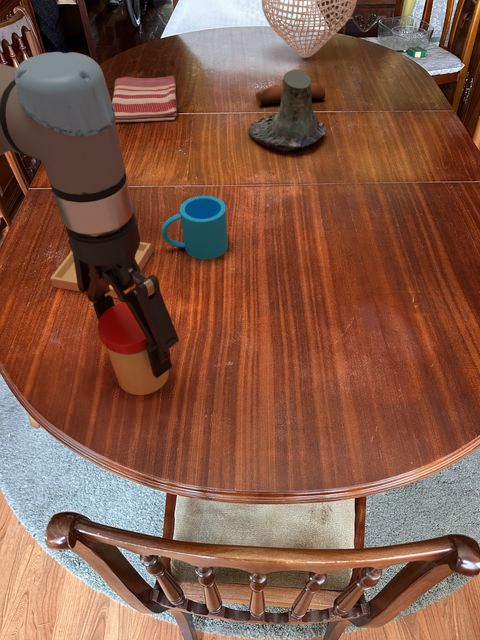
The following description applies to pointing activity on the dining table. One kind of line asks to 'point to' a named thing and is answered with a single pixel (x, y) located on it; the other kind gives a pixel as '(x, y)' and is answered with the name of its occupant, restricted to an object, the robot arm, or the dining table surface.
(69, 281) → the tray
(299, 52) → the heart
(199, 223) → the mug
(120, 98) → the dish towel
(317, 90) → the sunglasses case
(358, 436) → the dining table surface
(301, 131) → the tree stump
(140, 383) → the jar
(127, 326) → the lid
